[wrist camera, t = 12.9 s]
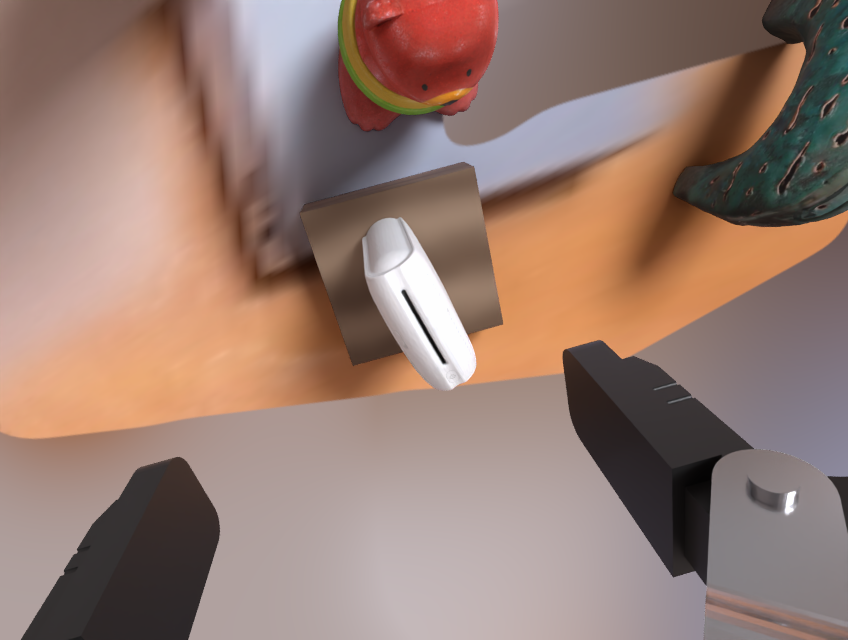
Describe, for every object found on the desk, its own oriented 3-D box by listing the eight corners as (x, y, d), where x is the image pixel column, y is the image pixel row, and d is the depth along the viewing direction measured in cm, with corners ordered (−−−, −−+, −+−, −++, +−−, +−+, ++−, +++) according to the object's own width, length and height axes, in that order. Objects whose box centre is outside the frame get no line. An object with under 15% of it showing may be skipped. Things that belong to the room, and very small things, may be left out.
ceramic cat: (782, -47, 38) (1180, -193, 19) (839, -9, 39) (1257, -112, 21) (652, 195, 44) (859, 255, 26) (706, 219, 46) (936, 290, 28)
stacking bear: (350, 136, 39) (347, 154, 23) (316, -11, 35) (282, -118, 18) (479, 109, 39) (566, 108, 23) (461, -39, 35) (551, -167, 19)
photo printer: (457, 311, 42) (494, 384, 31) (414, 333, 42) (435, 414, 31) (402, 206, 38) (421, 247, 26) (354, 232, 38) (354, 283, 27)
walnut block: (304, 204, 40) (299, 213, 37) (463, 161, 41) (474, 166, 37) (353, 345, 46) (352, 365, 43) (491, 307, 47) (503, 324, 43)
